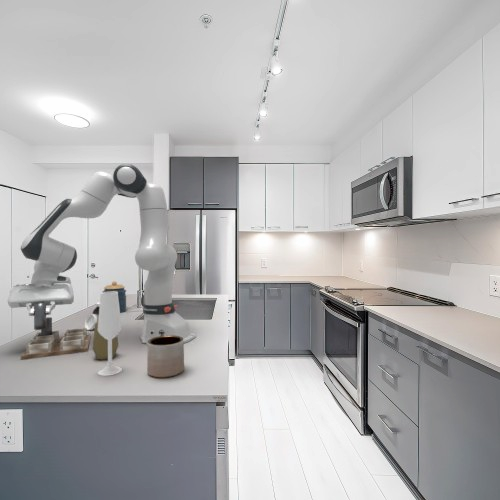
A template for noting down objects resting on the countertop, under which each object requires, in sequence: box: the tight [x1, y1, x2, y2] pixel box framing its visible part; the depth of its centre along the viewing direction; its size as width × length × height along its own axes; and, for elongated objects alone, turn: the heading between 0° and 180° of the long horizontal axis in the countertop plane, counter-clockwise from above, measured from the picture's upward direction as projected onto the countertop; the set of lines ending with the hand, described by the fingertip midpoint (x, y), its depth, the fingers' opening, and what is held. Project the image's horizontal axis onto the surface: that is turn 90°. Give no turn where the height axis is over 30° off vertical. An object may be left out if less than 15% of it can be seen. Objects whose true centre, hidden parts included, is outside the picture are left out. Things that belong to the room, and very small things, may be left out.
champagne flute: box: [97, 291, 123, 377], centre depth 97 cm, size 7×7×24 cm
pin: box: [33, 302, 47, 331], centre depth 113 cm, size 4×4×9 cm
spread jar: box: [84, 301, 100, 331], centre depth 148 cm, size 12×11×12 cm
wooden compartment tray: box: [20, 316, 92, 360], centre depth 120 cm, size 20×20×10 cm
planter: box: [146, 335, 185, 379], centre depth 96 cm, size 11×11×10 cm
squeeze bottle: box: [92, 316, 119, 360], centre depth 109 cm, size 8×8×18 cm
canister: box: [102, 281, 128, 314], centre depth 185 cm, size 13×13×18 cm
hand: (39, 314), depth 112 cm, fingers closed on pin, 4 cm apart
